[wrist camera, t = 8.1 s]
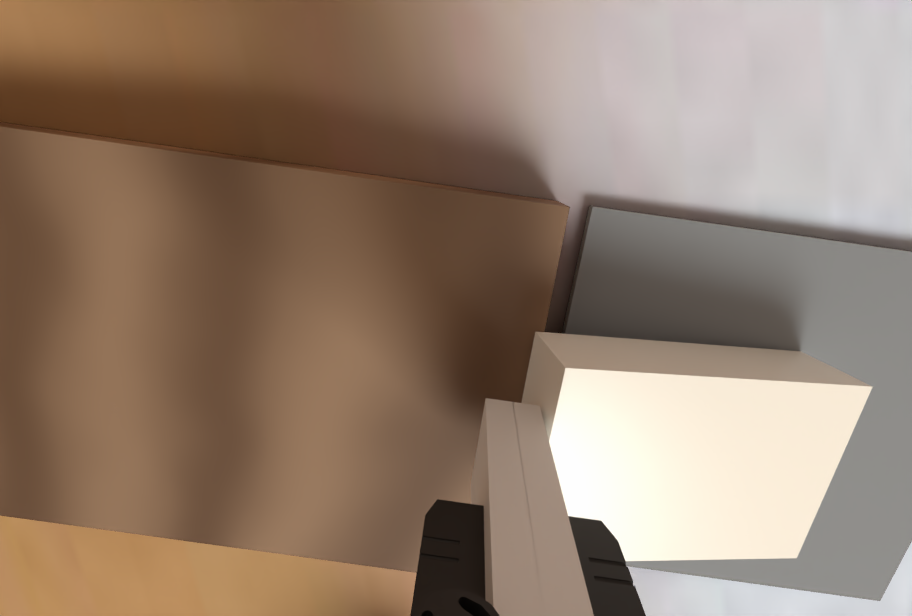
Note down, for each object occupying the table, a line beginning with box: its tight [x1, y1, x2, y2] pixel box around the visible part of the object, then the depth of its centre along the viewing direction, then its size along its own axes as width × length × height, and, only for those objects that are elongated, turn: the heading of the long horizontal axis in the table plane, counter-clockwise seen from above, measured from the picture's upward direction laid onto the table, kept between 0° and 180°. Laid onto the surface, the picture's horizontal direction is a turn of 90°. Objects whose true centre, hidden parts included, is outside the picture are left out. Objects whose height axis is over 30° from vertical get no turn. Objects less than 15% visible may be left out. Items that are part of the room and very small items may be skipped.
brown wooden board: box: [0, 122, 570, 573], centre depth 16 cm, size 20×13×2 cm, turn 82°
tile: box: [521, 332, 872, 561], centre depth 14 cm, size 9×6×2 cm, turn 82°
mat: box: [562, 206, 912, 601], centre depth 16 cm, size 14×13×1 cm
